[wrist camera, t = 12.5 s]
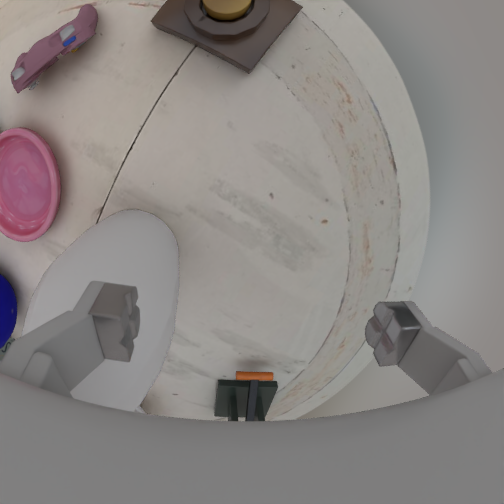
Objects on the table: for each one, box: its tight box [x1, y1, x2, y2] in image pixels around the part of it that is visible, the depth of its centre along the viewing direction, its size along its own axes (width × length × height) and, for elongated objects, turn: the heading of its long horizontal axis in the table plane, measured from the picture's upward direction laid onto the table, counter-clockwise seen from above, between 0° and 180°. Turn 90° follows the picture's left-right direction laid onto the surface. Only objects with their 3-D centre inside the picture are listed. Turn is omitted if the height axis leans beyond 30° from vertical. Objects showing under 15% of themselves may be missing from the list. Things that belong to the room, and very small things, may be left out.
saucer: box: [0, 127, 61, 242], centre depth 21 cm, size 12×12×3 cm
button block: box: [151, 0, 303, 74], centre depth 16 cm, size 10×8×4 cm
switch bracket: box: [214, 380, 278, 421], centre depth 38 cm, size 10×9×10 cm
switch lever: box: [236, 371, 273, 421], centre depth 35 cm, size 13×5×2 cm
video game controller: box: [11, 4, 98, 93], centre depth 15 cm, size 10×5×7 cm, turn 110°
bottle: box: [21, 209, 180, 412], centre depth 17 cm, size 11×11×25 cm
